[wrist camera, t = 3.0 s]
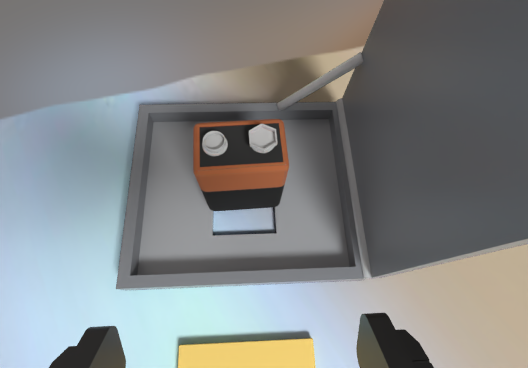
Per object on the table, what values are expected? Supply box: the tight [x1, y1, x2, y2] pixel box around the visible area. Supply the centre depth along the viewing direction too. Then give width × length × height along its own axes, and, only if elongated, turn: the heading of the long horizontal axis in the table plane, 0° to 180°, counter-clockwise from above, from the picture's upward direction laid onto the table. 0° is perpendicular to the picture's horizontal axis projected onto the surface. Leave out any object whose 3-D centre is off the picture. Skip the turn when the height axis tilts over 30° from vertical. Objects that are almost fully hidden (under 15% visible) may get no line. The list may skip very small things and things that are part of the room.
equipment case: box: [116, 0, 528, 290], centre depth 20 cm, size 18×22×23 cm
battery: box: [193, 119, 289, 211], centre depth 26 cm, size 4×7×10 cm, turn 95°
